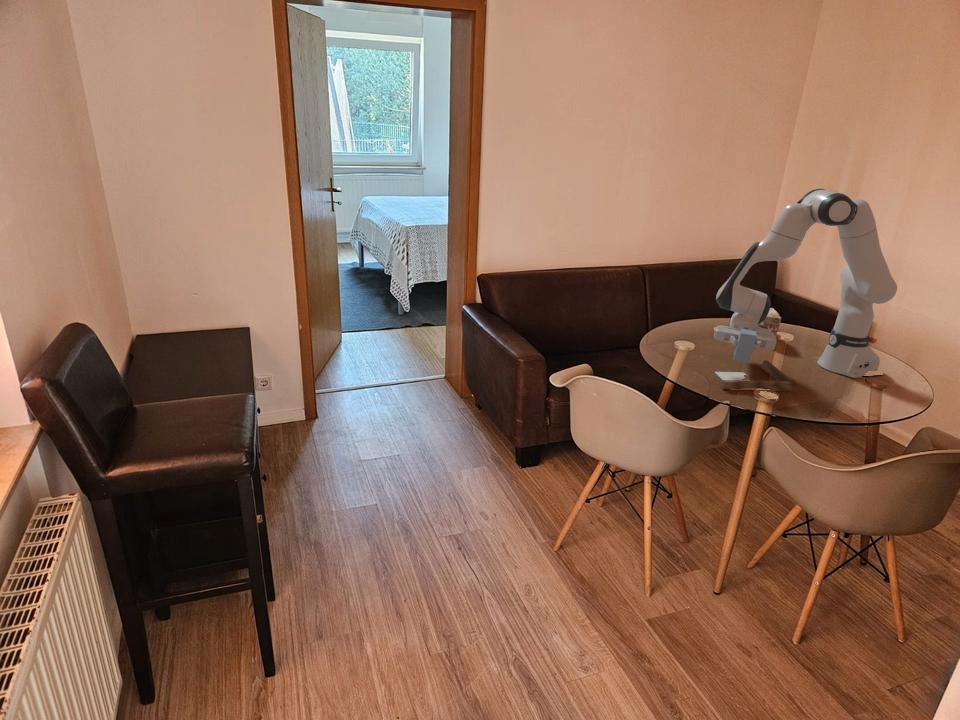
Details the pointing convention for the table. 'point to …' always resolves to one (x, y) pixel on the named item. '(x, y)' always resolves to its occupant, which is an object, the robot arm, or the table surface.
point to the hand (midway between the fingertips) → (745, 345)
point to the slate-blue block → (745, 345)
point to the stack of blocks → (772, 321)
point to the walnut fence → (780, 385)
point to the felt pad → (731, 375)
